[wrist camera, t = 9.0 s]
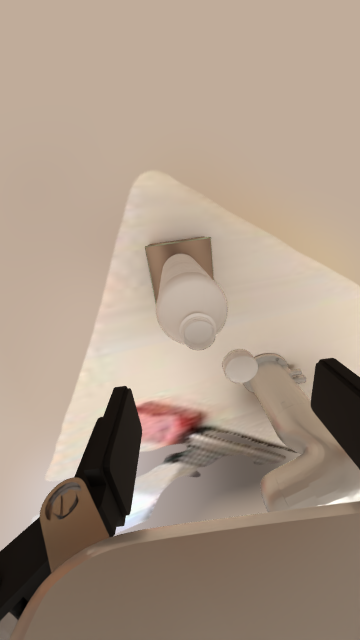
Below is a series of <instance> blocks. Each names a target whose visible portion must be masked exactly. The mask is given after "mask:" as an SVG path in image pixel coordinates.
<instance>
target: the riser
mask: <svg viewBox="0 0 360 640" xmlns="http://www.w3.org/2000/svg"><path fill="white" fill-rule="evenodd" d="M145 250H146V255H147V260H148V266H149V271H150V276H151V282H152V287H153V292H154V297H155V303H157V299H158V294H159V288H160V281H161V275H162V269H163V266H164V263H165V262H166V261H167V259H168V258H170V257H171V256H173V255H175V254H186V255H189V256H191V257H192V258H193V259H194V260H195V261H196V262H197V263H198V264H199V265H200V266H201V267H202V268H203V269H204V270H205V272H206V273H207V274H208V275H209V276H210V277H211V278H212V279H213V265H212V251H211V237H198V238H191V239H184V240H177V241H171V242H164V243H157V244H150V245H148V246H145ZM213 280H214V279H213Z"/></svg>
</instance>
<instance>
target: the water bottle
mask: <svg viewBox="0 0 360 640" xmlns="http://www.w3.org/2000/svg"><path fill="white" fill-rule="evenodd" d="M227 311H228V307H227V300H226V297H225V294H224V292H223V291H222V289H221V288H220V286H219V285H218V284H217V283H216V282H215V281H214V280H213V279H212V278H211V277H210V276H209V275H208V274H207V273H206V272H205V270H204V269H203V268H202V267H201V266H200V265H199V264H198V263H197V262H196V261H195V260H194V259H193V258H192V257H191V256H189V255H186V254H175V255H173V256H171V257H170V258H168V259H167V261H166V262H165V263H164V266H163V269H162V275H161V281H160V288H159V294H158V299H157V303H156V315H157V319H158V322H159V324H160V326H161V328H162V330H163V331H164V332H165V333H166V334H167V335H168V336H169V337H170V338H171V339H173V340H175V341H177V342H179V343H182V344H186V345H187V346H188V347H189V348H191V349H193V350H204V349H206V348H208V347H209V346H211V345H212V343H213V342H214V340H215V337H216V335H217V334H218V333H219V332H220V330H221V329H222V327H223V326H224V324H225V321H226V318H227ZM238 351H239V352H238ZM234 352H235V353H234ZM222 367H223V370H224V372H225V375H226V377H227V378H228V379H229V380H230V381H232V382H234V383H244V382H247V381H249V380H251V379H252V378H253V377H254V376H255V375H256V373H257V371H258V364H257V362H256V360H255V359H254V357H253V356H252V354H251V353H250V352H248V351H247V350H243V349H237V350H233V351H231V352H229V353H228V354H227V355H226V356H225V357H224V359H223V362H222Z"/></svg>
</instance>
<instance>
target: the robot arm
mask: <svg viewBox="0 0 360 640" xmlns="http://www.w3.org/2000/svg"><path fill="white" fill-rule="evenodd" d="M254 359H255V360H256V362H257V364H258V371H257V373H256V375H255V376H254V377H253V378H252V379H251V380H249V381H247V382H244V383H243V384H244V386H245V387H246V388H247V389H248V390H249V391H251V392H253V393H255V394H256V396H257V398H258V400H259V402H260V404H261V405H262V407H263V409H264V411H265V413H266V415H267V417H268V418H269V420H270V422H271V424H272V426H273V428H274V430H275V432H276V433H277V435H278V437H279V438H280V440H281V441H282V442H283V443H284V444H285V445H286V446H288V447H289V448H291V449H292V450H294V451H296V452H298V453H300V454H302V455H300V456H298V457H297V458H296V459H294V460H292V461H290V462H288V463H286V464H284V465H282V466H280V467H278V468H276V469H275V470H273V471H271V472H269V473H268V474H266V475H265V476H264V477H263V479H262V481H261V485H260V489H261V495H262V498H263V501H264V504H265V506H266V509H267V511H268V512H267V513H259V514H251V515H244V516H236V517H229V518H221V519H213V520H206V521H198V522H191V523H184V524H176V525H171V526H163V527H158V528H151V529H144V530H138V531H134V532H130V533H125V534H120V535H117V536H114V535H115V531H116V527H119V526H124V524H125V518H126V515H129V514H130V511H131V505H132V498H133V491H134V485H135V478H136V471H137V464H138V457H139V450H140V443H141V437H142V427H141V423H140V419H139V416H138V412H137V409H136V405H135V402H134V398H133V394H132V391H131V389H130V388H129V389H128V388H127V387H126V386H122V387H115V388H114V389H113V392H112V395H111V397H110V400H109V403H108V405H107V408H106V411H105V414H104V416H103V417H100V418H98V420H97V422H96V424H95V427H94V429H93V432H92V434H91V437H90V439H89V442H88V444H87V447H86V449H85V452H84V454H83V457H82V459H81V462H80V464H79V467H78V469H77V472H76V474H75V477H74V478H70V479H67V480H64V481H63V482H61V483H60V484H58V485H57V486H56V487H55V488H54V489H53V490H52V491H51V492H50V493H49V494H48V496H47V497H46V499H45V500H44V502H43V504H42V507H41V510H40V517H39V518H38V519H37V520H36V521H34V522H33V523H32V524H31V525H30V526H29V527H28V528H27V529H26V530H25V531H23V532H22V533H21V534H20V535H19V536H18V537H16V538H15V539H14V540H13V541H12V542H11V543H9V545H7V546H6V547H5V548H4V549H3V550H1V551H0V640H360V377H359V376H357V375H356V374H355V373H353V372H352V371H351V370H349V369H348V368H347V367H345V366H344V365H343V364H341V363H340V362H339V361H337V360H336V359H334V358H328V359H321V360H319V362H318V363H317V364H316V367H315V375H314V382H313V389H312V397H311V400H310V399H309V398H308V397H307V395H306V394H305V393H304V392H303V391H302V390H301V388H300V387H299V386H298V385H297V384H296V383H298V384H299V383H305V382H306V378H305V376H304V375H301V376H296V377H292V376H293V375H300V374H302V371H301V370H300V369H296V370H290V369H289V366H288V364H287V362H286V361H285V360H284V359H283V358H282V357H280V356H278V355H275V354H263V355H259V356H257V357H255V358H254ZM113 536H114V537H113Z"/></svg>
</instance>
